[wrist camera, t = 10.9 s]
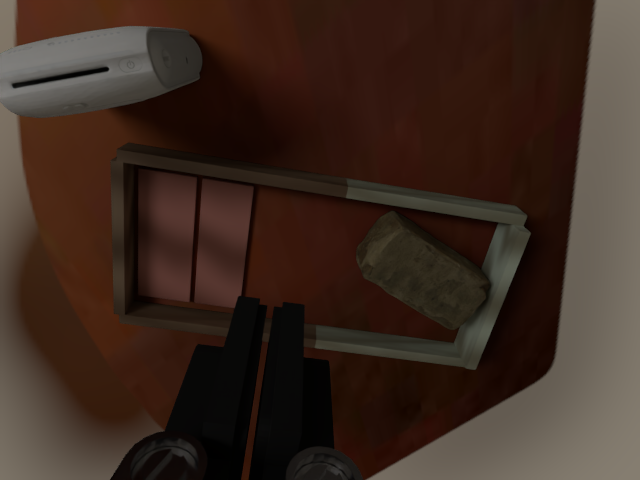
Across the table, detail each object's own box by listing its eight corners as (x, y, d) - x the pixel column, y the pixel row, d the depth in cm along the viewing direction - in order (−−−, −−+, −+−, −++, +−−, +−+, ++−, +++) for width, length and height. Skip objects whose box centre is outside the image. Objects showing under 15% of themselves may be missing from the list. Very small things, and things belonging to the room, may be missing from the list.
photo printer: (196, 23, 34) (140, 16, 23) (210, 81, 36) (165, 101, 25) (68, 46, 35) (-48, 51, 23) (88, 102, 36) (-10, 132, 25)
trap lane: (122, 141, 38) (102, 152, 34) (515, 205, 41) (535, 222, 37) (124, 307, 45) (107, 331, 41) (460, 351, 48) (472, 377, 44)
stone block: (442, 307, 46) (457, 337, 41) (348, 250, 43) (353, 276, 38) (481, 263, 44) (501, 290, 39) (385, 201, 41) (395, 223, 36)
